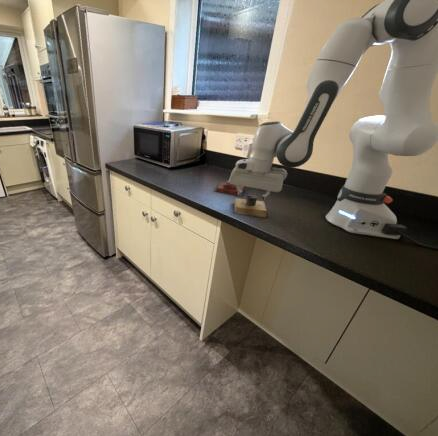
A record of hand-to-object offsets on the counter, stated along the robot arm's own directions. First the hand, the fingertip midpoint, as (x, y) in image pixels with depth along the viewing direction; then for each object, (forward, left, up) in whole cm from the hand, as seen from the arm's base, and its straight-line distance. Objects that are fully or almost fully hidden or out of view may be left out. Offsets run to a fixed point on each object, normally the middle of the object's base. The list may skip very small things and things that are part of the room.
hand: (251, 197), depth 99 cm
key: (+12, -20, -3) cm, 24 cm away
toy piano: (+12, -20, -6) cm, 24 cm away
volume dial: (0, 0, -3) cm, 3 cm away
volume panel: (0, 0, -6) cm, 6 cm away
